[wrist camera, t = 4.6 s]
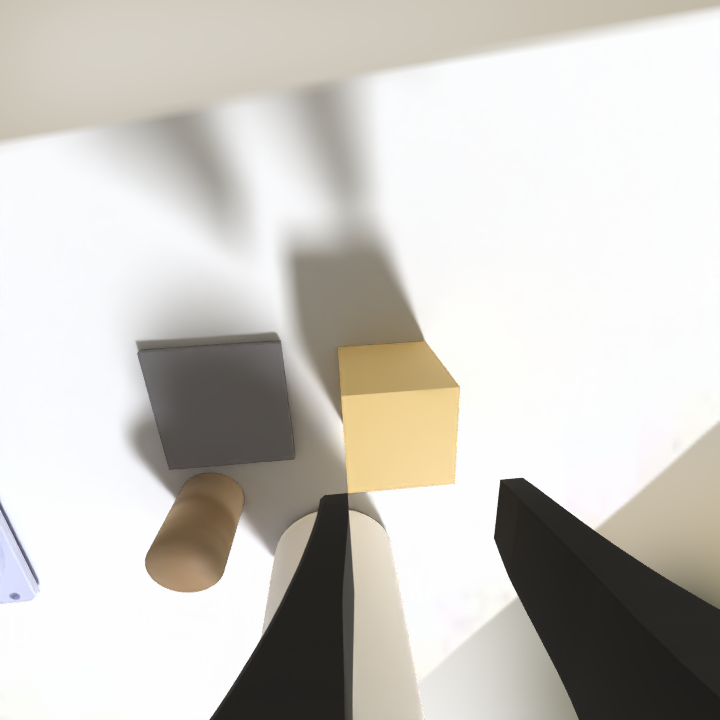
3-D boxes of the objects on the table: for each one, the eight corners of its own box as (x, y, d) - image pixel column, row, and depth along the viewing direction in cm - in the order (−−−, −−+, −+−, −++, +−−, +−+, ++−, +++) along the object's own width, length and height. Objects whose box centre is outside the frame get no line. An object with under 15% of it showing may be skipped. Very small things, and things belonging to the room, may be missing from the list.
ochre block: (343, 423, 19) (348, 493, 14) (337, 346, 17) (340, 396, 13) (423, 417, 19) (454, 483, 14) (424, 340, 17) (459, 387, 13)
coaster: (172, 464, 19) (169, 469, 18) (141, 349, 17) (136, 352, 16) (295, 454, 19) (294, 459, 19) (280, 340, 17) (279, 343, 16)
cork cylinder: (187, 525, 20) (155, 595, 16) (173, 475, 19) (136, 540, 15) (248, 519, 20) (230, 588, 17) (238, 470, 19) (217, 532, 15)
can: (263, 514, 20) (183, 884, 9) (383, 493, 20) (448, 833, 9) (290, 598, 23) (252, 972, 12) (397, 578, 23) (462, 931, 12)
